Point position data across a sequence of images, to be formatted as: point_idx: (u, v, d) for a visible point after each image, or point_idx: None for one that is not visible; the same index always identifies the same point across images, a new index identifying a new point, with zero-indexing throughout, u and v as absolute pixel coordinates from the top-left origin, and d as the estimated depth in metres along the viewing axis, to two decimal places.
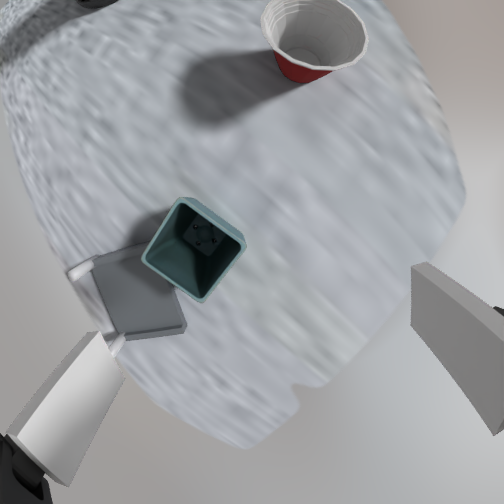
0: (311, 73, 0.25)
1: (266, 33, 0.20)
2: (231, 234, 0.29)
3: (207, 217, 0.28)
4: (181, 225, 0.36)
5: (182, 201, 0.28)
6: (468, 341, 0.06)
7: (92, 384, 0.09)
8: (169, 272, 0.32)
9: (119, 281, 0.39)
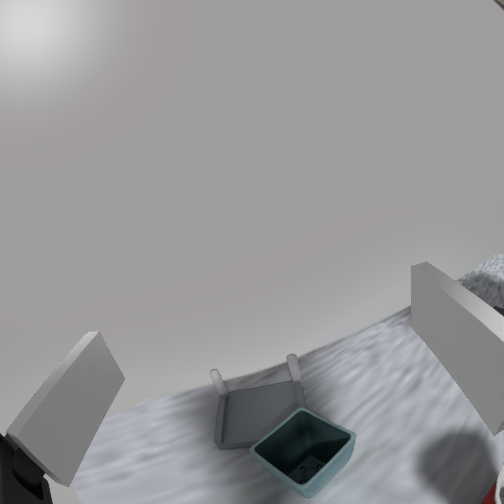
0: None
1: None
2: (316, 476, 0.20)
3: (335, 457, 0.22)
4: (323, 452, 0.29)
5: (352, 436, 0.24)
6: (468, 341, 0.06)
7: (92, 384, 0.09)
8: (284, 430, 0.29)
9: (276, 401, 0.41)
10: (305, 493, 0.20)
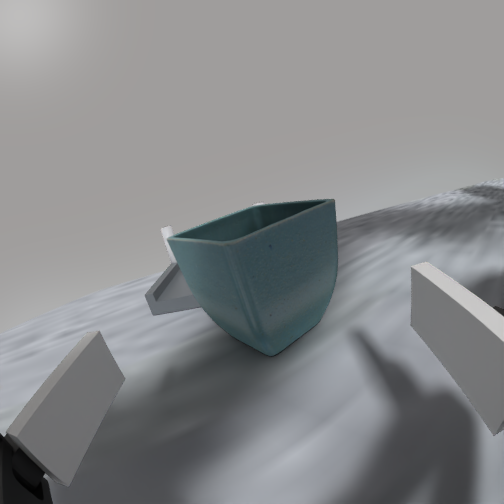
0: None
1: None
2: (259, 231, 0.14)
3: (299, 213, 0.16)
4: None
5: (328, 200, 0.18)
6: (468, 341, 0.06)
7: (92, 384, 0.09)
8: (228, 230, 0.23)
9: None
10: (241, 282, 0.14)
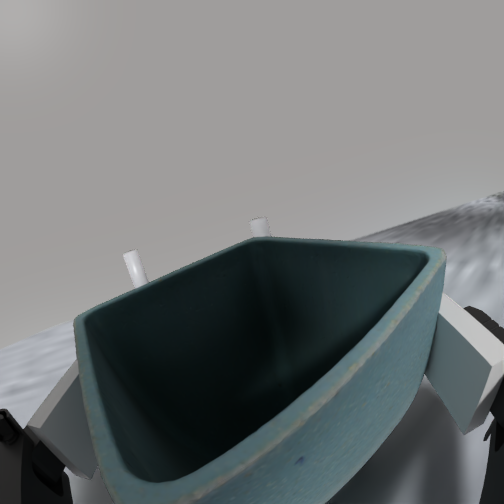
0: None
1: None
2: (264, 443, 0.03)
3: (390, 320, 0.04)
4: None
5: (433, 254, 0.06)
6: (437, 339, 0.06)
7: None
8: (200, 291, 0.11)
9: None
10: None
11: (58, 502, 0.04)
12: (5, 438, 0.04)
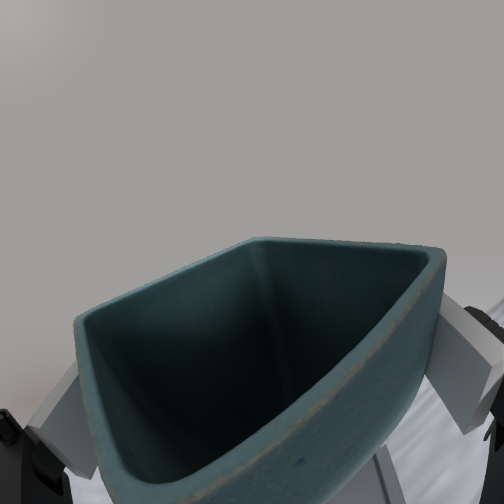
0: None
1: None
2: (264, 445, 0.03)
3: (391, 321, 0.04)
4: None
5: (434, 254, 0.06)
6: (437, 339, 0.06)
7: None
8: (200, 291, 0.11)
9: (339, 491, 0.14)
10: None
11: (58, 502, 0.04)
12: (5, 438, 0.04)
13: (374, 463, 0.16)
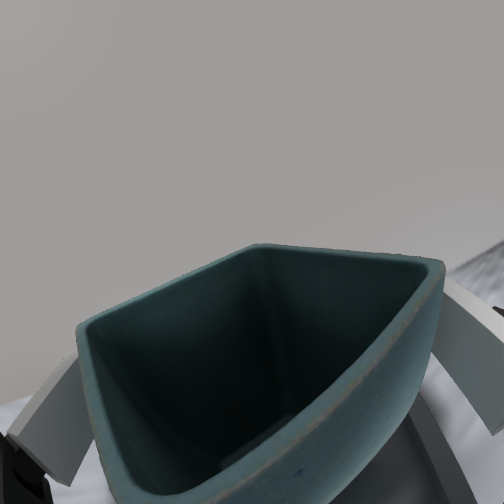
0: None
1: None
2: (264, 459, 0.03)
3: (389, 337, 0.04)
4: None
5: (433, 266, 0.06)
6: (467, 341, 0.06)
7: None
8: (201, 298, 0.11)
9: None
10: None
11: None
12: None
13: None
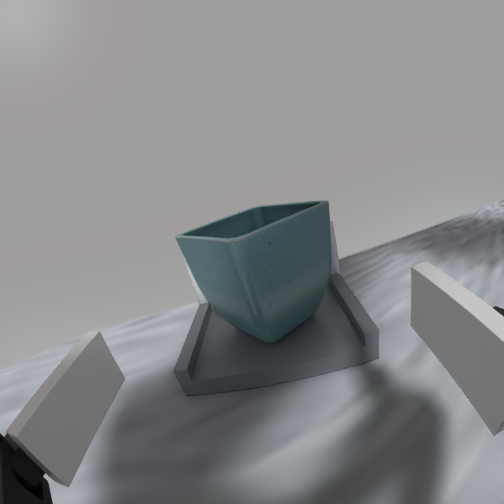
0: None
1: None
2: (260, 229, 0.16)
3: (295, 214, 0.18)
4: None
5: (322, 202, 0.20)
6: (468, 341, 0.06)
7: (92, 384, 0.09)
8: (231, 228, 0.25)
9: None
10: (244, 274, 0.16)
11: None
12: None
13: (331, 289, 0.26)
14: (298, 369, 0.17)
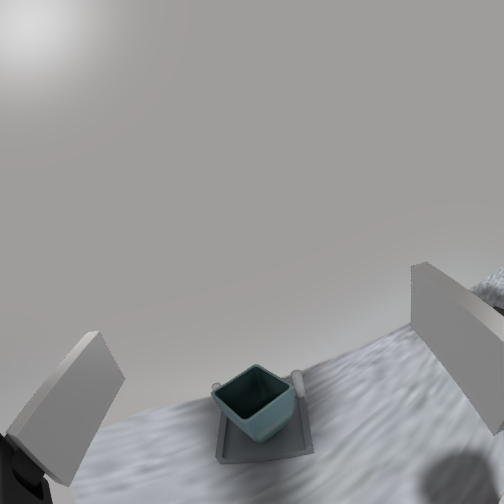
0: None
1: None
2: (256, 414, 0.31)
3: (274, 401, 0.33)
4: None
5: (290, 387, 0.34)
6: (468, 341, 0.06)
7: (92, 384, 0.09)
8: (241, 381, 0.40)
9: None
10: (249, 430, 0.31)
11: None
12: None
13: (298, 405, 0.41)
14: (273, 456, 0.32)
